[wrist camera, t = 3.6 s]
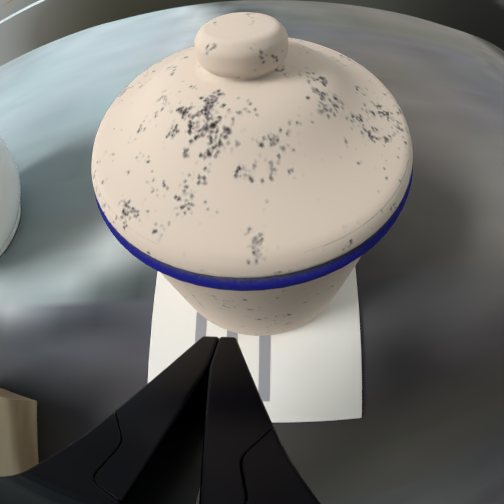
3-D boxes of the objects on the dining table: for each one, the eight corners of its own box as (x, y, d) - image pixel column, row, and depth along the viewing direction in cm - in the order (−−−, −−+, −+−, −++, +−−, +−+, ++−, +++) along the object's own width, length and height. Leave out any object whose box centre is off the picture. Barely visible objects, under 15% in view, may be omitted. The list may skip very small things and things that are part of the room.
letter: (360, 417, 13) (361, 417, 12) (147, 412, 13) (146, 412, 13) (345, 191, 17) (345, 189, 17) (170, 194, 18) (169, 192, 18)
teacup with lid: (382, 286, 15) (528, 113, 4) (214, 374, 14) (46, 334, 3) (270, 126, 19) (264, -47, 9) (137, 183, 18) (51, 19, 8)
